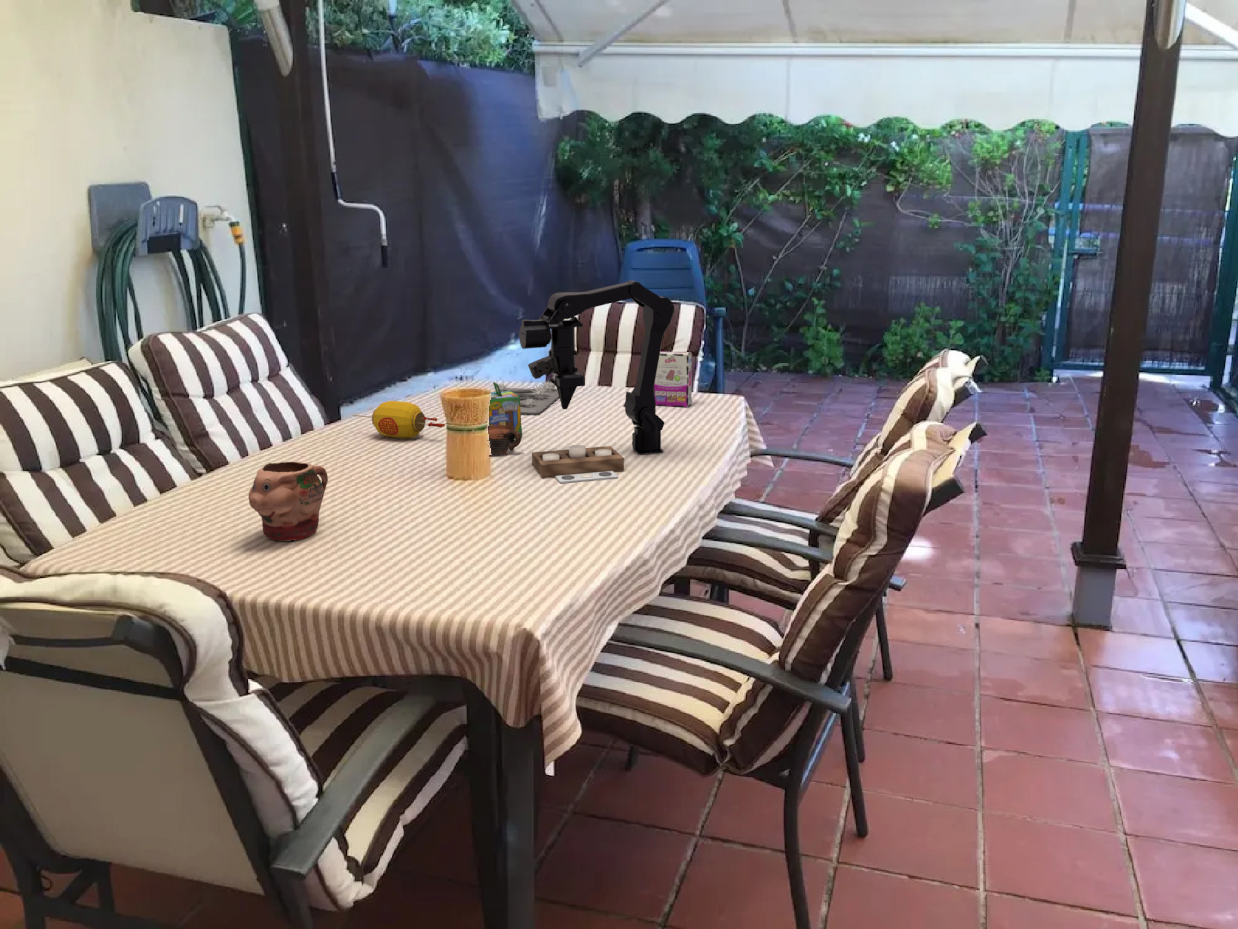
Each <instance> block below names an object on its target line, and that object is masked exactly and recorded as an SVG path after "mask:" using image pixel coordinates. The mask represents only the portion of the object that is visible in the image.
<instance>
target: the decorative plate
mask: <svg viewBox="0 0 1238 929" xmlns="http://www.w3.org/2000/svg"><path fill="white" fill-rule="evenodd" d="M498 385H499V388H500V391H501V392H504V391H511V392H513V393H515V394H517V395H519V396H520V409H521V416H523V415H524V416H525V415H526V416H527V415H528V416H538V415H539V414H540V413H541V412H544V410H545V409H546V408H547V407H549V406H550V405H551V404H552V403H553V402H555V401H556V400H557V399H558V398H559V395H558V391H557V388H556V386H555V385H554V384H553V383H552V382H551V381H550V380H545V382H543V381H542V384H540V383H539V385H537V384H535V387H534V386H532V388H524V387H522V388H521V387H520V388H519V387H507V385H505V383H504V382H503V383H502V384H501V383H498ZM497 390H498V388H497ZM498 391H499V390H498Z"/></svg>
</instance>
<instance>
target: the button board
mask: <svg viewBox="0 0 1238 929" xmlns="http://www.w3.org/2000/svg"><path fill="white" fill-rule="evenodd" d="M599 449H608V450H611V455H607V456H595V451H596V450H599ZM585 450H586V457H583V458H571V459H570V458H569V448H568V449H557V450H547V451H534V452H533V451H532V452H531V466H532V467H533V466H534V467H533V468H534V469H535V471H536V472H537V473H538V474H540V475H539V476H540V477H541V479H548V478H549V479H550V478H555V476H561V475H572V474H583V473H595V472H606V471H613V472H614V473H616V472H625V458H624V456H622V455H621V453H620V452H618V451H617V450H616V449H614V448H613V447H612V446H611V445H605V446H595V447H594V446H593V447H585ZM549 453H555V454H559V460H547V461H543V455H544V454H549Z"/></svg>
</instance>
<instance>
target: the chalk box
mask: <svg viewBox="0 0 1238 929" xmlns="http://www.w3.org/2000/svg"><path fill="white" fill-rule="evenodd" d="M492 384H493V386H494V391H493V392H492V391H490V392H491V400H490V406H489V426H491V425H505V426H509V427H510V428H511V430H510V431H518V432H519V433H520V434H521V438H523V429H522V428H523V426H522V415H521V409H520V396H519V395H517V394H515V393H513V392H511V391H504V392H501V391H500V388H499V383H497V382H495V381H493V382H492ZM497 388H498V390H499V391H498V390H497Z"/></svg>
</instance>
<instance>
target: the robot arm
mask: <svg viewBox="0 0 1238 929" xmlns="http://www.w3.org/2000/svg"><path fill="white" fill-rule="evenodd" d="M630 299H631V300H632V301H633V302H634V303H635V304H637V305H638V306H640V308H641V309H642V320H643V324H644V335H643V341H642V348H641V353H640V359H639V365H638V369H637V376H636V382H635V385H634V388H632V391H631V392H630V391H626V392H625V401H624V404H623V405H622V407H623V408H625V409H624V411H625V412H624V413H625V415H626V417H627V418H628V419H630V420H631V422H632V425H633V426H634V427H633V432H632V433H631V434H632V435H631V442H632V443H631V444H632V450H633V451H634V452H636V453H637V454H638V455H645V454H647V455H648V454H658V453H659V454H660V453H664V450H663V449H662V431H663V429H664V427H665V421H664V420H663V419H661V417H660V416H658V415H657V414H656V413H657V412H656V409H657V408H656V407H657V406H656V401H655V395H654V384H655V378H656V373H657V367H658V361H659V356H660V351H662V350H661V349H662V345H663V344H662V343H663V339H664V334H665V332H666V331H667V329H668V328H669V326H670V324H671V322H672V319H673V317H674V313H675V305H674V303H673V300H671V299H670V298H667V297H664V296H660V295H658V294H656V293H655V292H653V291H652V290H650V289H649V288H647V287H645V286H644V285H643V284H642V283H640V282H638V281H636V280H627V281H625V282H621V283H617V284H613V285H609V286H605V287H601V288H600V287H599V288H596V289H592V290H587V291H582V292H581V291H580V292H579V291H578V292H577V291H575V292H574V291H573V292H572V291H568V292H567V291H566V292H555V293H553V294H552V295H550V297H549V299H548V302H547V306H546V308H545V310H544V311H543V313H542V314H541V316H540V317H539V319H522V320H521V326H520V328H519V332H518V338H519V344H520V348H521V349H523V350H526V349H527V350H528V349H541V348H547V347H548V345H550V344H551V349H549V350H548V355H547V356H545V357H541V358H539V359H537V360H534V361H533V362H529V364H528V365H527V367H528V368H529V372H530V374H531V377H532V378H534V379H535V380H538V379H541V378H542V377H543V376H545V377H548V376H549V375H552V379H551V378H550V379H549V382H552V384H553V385H555V386H554V387H555V388H556V389H557V391H558V395H559V397H558V398H559V402H560V405H561V409H562V410H568V408H569V405H570V403H571V401H572V399H573V396H574V394H575V392H576V389H577V388H578V387H585V386H586V377H585V376H584V375H583V374H581V373H580V372H578V370H579V369H578V366H576V356H578V350H576V340H575V339H576V337H575V336H576V335H575V332H576V331H575V328H582V327H583V328H584V324H583V322H581V321H580V320H579V319H578V318H577V316H578V315H581V314H583V313H585V312H586V311H587V310H590V309H593V308H597V307H601V306H604V305H609V304H610V305H611V304H613V303H616V302H622V301H625V300H630Z"/></svg>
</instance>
